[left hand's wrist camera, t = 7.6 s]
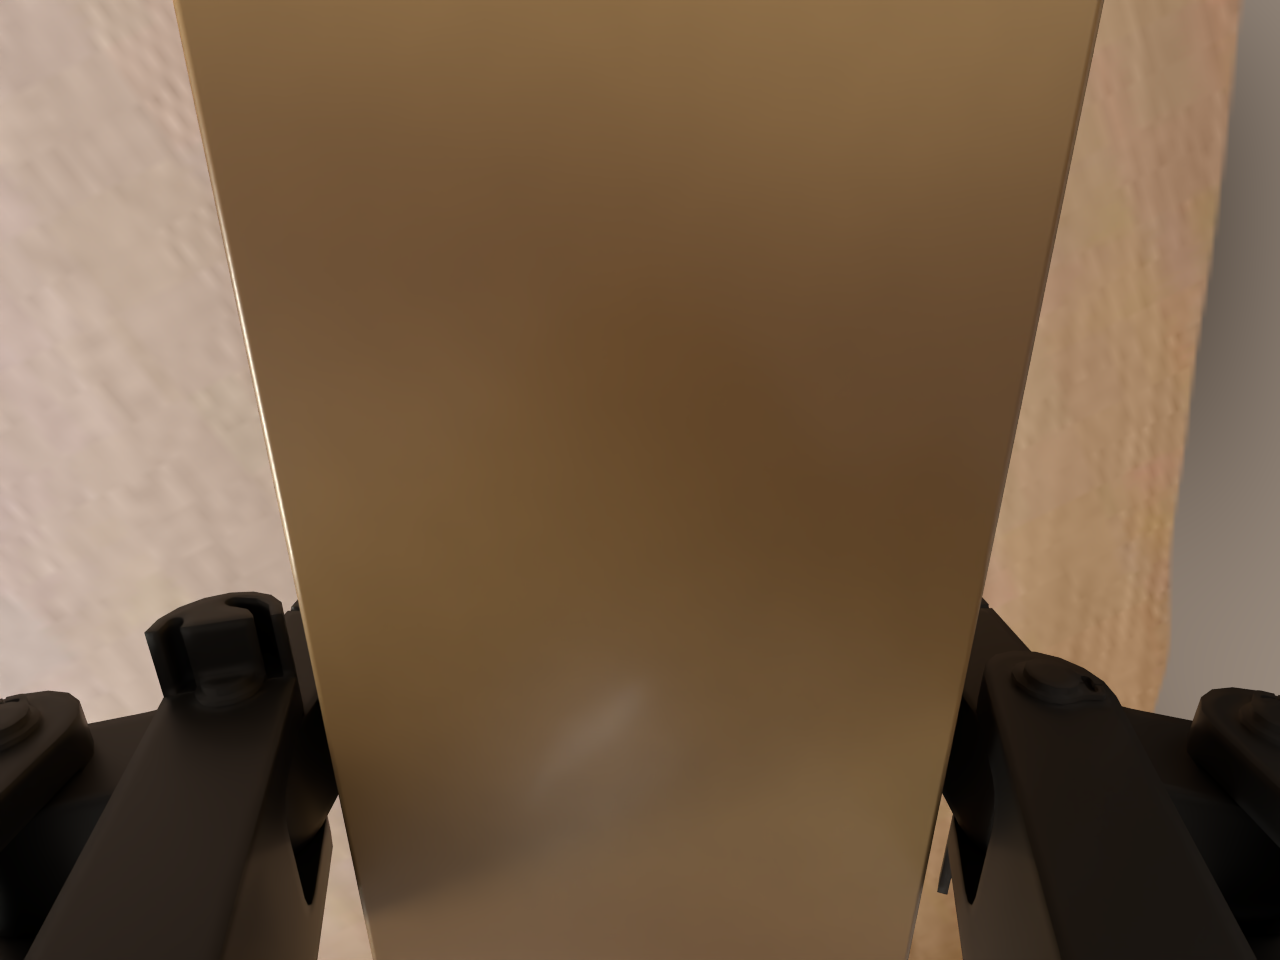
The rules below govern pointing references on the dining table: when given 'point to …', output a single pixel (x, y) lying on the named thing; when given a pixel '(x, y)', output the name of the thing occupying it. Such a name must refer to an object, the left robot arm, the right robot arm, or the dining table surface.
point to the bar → (639, 436)
